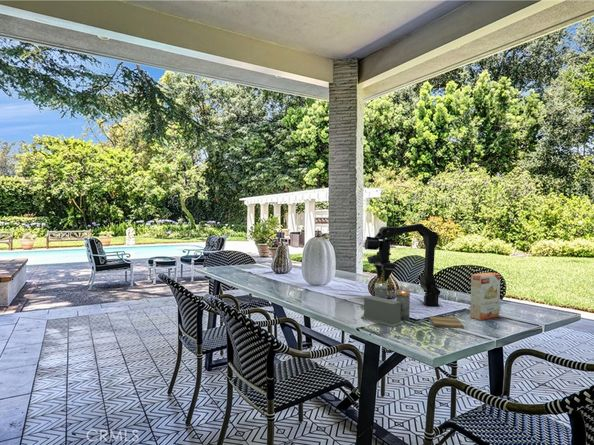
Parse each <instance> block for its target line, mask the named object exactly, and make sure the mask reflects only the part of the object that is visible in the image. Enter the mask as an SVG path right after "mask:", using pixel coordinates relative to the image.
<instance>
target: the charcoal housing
mask: <svg viewBox="0 0 594 445" xmlns="http://www.w3.org/2000/svg"><path fill="white" fill-rule="evenodd" d="M360 318H361V319H363V320H366V321H370V322H374V323H376V322H377V324H380V325H383V324H384V326H386V327H390V328H395V327H398V326H401V325H403V324H404V323H405V322H404V321H403V320H401V302H398V301H396V300H394V299H390V298H389V299H388V298H387V299H384V298H380V297H375V295H370V296H366V297H364V298H363V315H361V317H360Z"/></svg>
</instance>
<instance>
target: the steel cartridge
mask: <svg viewBox="0 0 594 445" xmlns="http://www.w3.org/2000/svg"><path fill="white" fill-rule="evenodd" d="M374 290H375V292H374V296H375V297H380V298H384V299H388V283H386V282H375V283H374Z"/></svg>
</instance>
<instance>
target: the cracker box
mask: <svg viewBox="0 0 594 445" xmlns="http://www.w3.org/2000/svg"><path fill="white" fill-rule="evenodd" d="M470 278H471V279H470V308H469V309H470V310H469V311H470V312H469V314H470V315H469V318H471V319H475V320H477V321H483V320H488V319H489V320H490V319H494V318H498V317H500V297H501V296H500V293H501V292H500V291H501V274H500V273H496V272H483V273H482V272H481V273H474V274H471V277H470Z"/></svg>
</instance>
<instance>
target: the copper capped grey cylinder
mask: <svg viewBox="0 0 594 445" xmlns="http://www.w3.org/2000/svg"><path fill="white" fill-rule="evenodd" d="M395 292H396V293H395V295H396V300H395V301H398V302H401V321H409V320H410V313H411V311H410V303H411V302H410V298H411V297H410V296H411V291H410V290H408V289H396V291H395Z"/></svg>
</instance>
